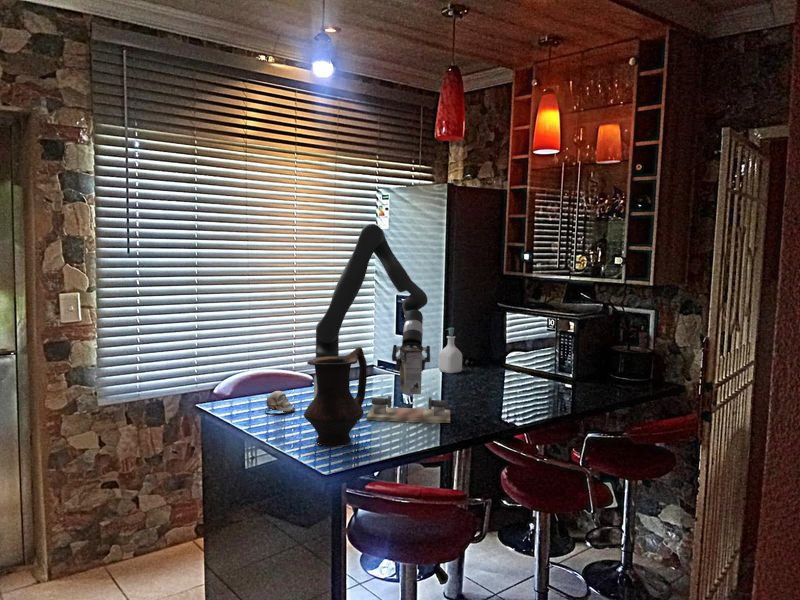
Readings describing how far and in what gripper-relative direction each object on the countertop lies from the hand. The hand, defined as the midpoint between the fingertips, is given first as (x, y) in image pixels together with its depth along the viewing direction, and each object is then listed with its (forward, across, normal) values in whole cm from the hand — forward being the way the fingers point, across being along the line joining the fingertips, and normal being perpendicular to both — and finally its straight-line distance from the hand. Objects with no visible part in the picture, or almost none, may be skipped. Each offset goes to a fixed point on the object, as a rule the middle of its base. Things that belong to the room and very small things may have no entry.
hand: (410, 370), depth 226 cm
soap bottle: (-52, +14, +78) cm, 95 cm away
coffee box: (+5, 0, +7) cm, 9 cm away
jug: (+36, -21, -11) cm, 43 cm away
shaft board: (+12, 0, +13) cm, 18 cm away
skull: (+11, -50, +14) cm, 53 cm away
